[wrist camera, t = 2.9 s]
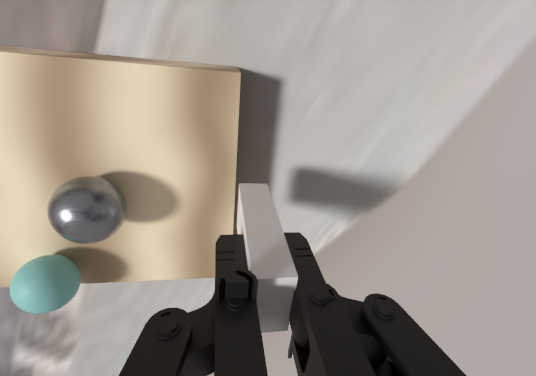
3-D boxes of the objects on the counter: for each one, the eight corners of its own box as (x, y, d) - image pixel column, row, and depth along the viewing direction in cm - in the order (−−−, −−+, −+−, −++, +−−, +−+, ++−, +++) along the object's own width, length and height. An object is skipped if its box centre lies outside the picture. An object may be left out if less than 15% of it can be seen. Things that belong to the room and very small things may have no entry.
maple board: (237, 67, 15) (240, 72, 13) (229, 251, 21) (230, 276, 19) (-389, 10, 11) (-541, 4, 9) (-173, 264, 17) (-230, 298, 15)
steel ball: (130, 166, 14) (109, 197, 12) (137, 217, 16) (120, 257, 13) (60, 164, 14) (20, 197, 11) (75, 218, 15) (43, 259, 12)
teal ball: (83, 242, 16) (57, 283, 13) (93, 280, 17) (72, 324, 15) (23, 244, 15) (-16, 286, 13) (39, 283, 17) (6, 328, 14)
